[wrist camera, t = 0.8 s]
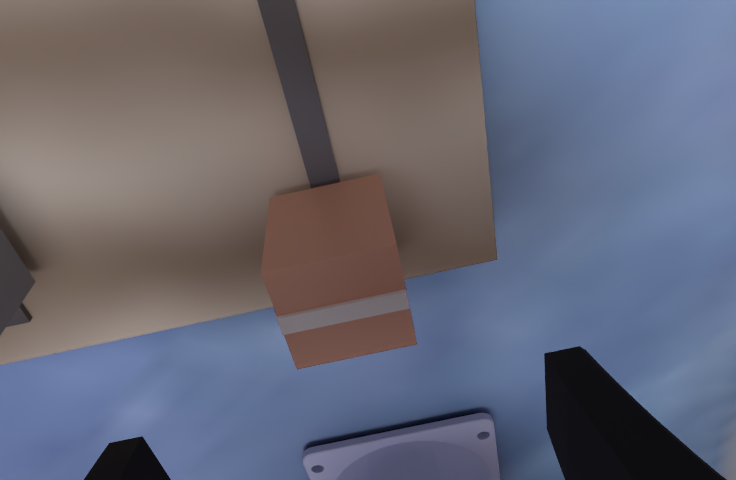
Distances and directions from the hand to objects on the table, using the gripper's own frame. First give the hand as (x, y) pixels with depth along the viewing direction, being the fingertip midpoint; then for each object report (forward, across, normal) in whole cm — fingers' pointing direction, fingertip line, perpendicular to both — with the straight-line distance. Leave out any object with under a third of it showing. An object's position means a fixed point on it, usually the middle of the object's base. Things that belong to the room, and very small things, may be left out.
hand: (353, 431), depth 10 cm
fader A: (+7, 0, 0) cm, 7 cm away
